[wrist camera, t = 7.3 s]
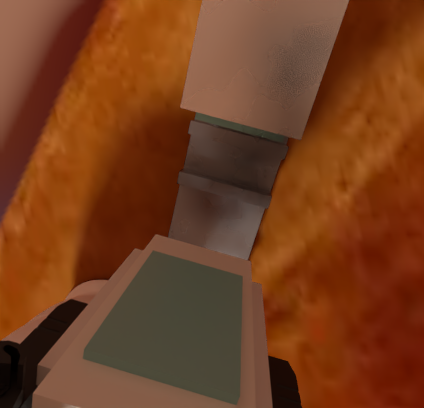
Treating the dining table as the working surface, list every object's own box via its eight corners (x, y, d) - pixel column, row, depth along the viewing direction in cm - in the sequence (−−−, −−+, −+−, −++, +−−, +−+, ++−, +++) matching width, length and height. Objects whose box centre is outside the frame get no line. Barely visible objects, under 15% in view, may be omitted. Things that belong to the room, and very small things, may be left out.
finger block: (156, 228, 13) (33, 381, 6) (252, 255, 13) (262, 452, 5) (139, 313, 15) (22, 526, 7) (225, 338, 14) (201, 585, 7)
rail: (229, -12, 18) (208, -159, 8) (324, 12, 18) (415, -110, 8) (165, 265, 24) (112, 363, 14) (235, 285, 24) (227, 398, 14)
